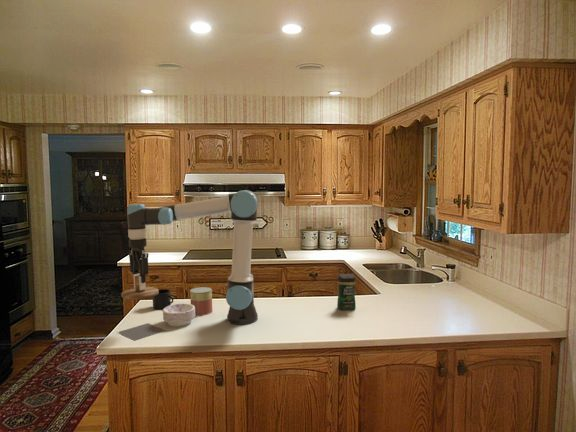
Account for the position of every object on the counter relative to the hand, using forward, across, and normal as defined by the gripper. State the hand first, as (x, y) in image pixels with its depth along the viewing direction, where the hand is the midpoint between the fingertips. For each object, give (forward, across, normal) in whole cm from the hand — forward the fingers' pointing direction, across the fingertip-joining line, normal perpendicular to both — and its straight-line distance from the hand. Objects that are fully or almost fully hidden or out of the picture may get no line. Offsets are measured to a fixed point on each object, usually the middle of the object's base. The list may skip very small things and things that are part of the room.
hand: (140, 288), depth 191 cm
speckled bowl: (+21, -4, -18) cm, 28 cm away
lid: (+3, 0, 0) cm, 3 cm away
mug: (+21, +25, -28) cm, 43 cm away
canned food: (+21, +2, -36) cm, 41 cm away
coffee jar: (+21, -55, -88) cm, 106 cm away
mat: (+20, 0, 0) cm, 20 cm away
